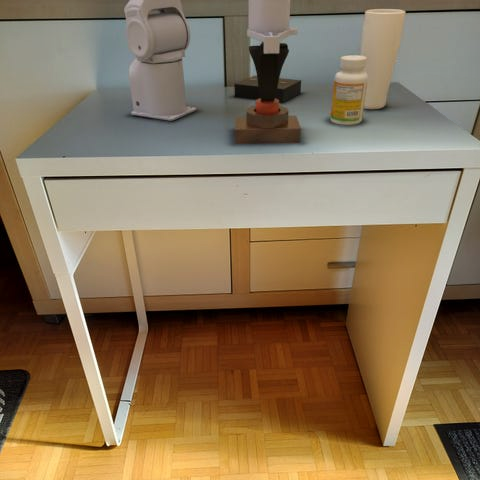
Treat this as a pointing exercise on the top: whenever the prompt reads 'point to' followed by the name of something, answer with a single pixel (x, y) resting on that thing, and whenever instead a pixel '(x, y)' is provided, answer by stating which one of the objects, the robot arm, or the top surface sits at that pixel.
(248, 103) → the top surface
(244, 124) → the button block
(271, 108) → the button
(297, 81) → the dial panel
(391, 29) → the tall cream tumbler
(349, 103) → the supplement bottle
